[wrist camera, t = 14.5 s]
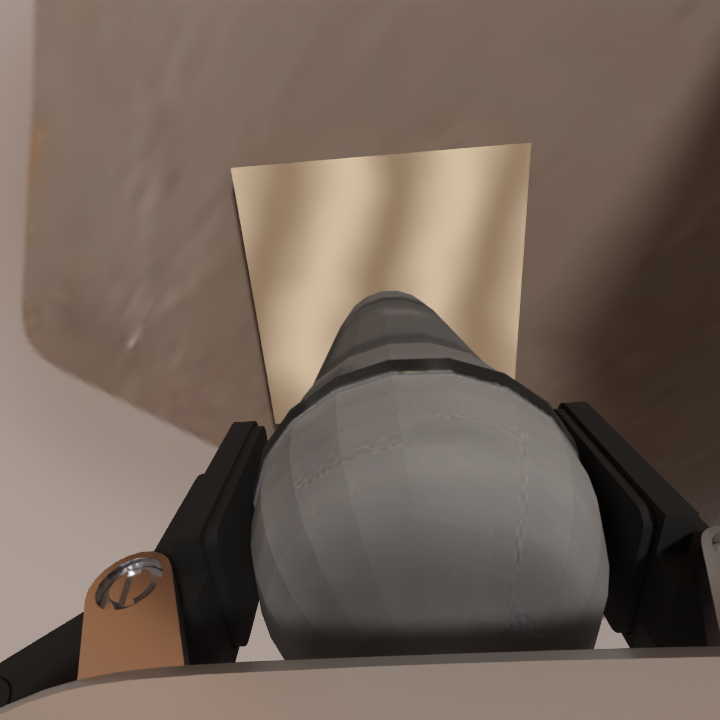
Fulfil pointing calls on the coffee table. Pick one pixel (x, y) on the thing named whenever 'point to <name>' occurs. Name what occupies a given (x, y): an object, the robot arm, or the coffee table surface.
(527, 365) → the coffee table surface
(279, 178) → the birch board
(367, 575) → the beverage cup
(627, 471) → the robot arm
